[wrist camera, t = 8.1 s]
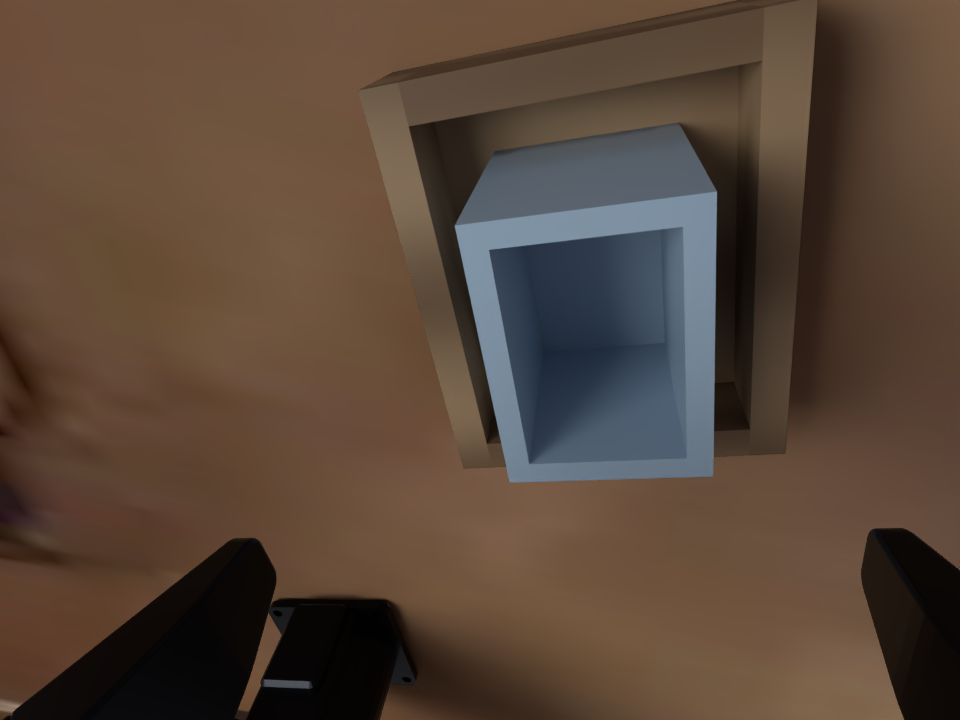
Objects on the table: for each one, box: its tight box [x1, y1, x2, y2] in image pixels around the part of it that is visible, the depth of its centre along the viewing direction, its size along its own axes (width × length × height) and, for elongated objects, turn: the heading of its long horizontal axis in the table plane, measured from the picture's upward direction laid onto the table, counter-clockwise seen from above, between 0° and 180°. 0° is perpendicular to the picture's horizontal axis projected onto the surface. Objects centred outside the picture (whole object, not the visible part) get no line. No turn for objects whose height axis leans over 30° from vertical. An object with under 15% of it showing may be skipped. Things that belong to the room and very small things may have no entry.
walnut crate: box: [359, 0, 818, 469], centre depth 18 cm, size 12×10×3 cm
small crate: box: [455, 122, 717, 483], centre depth 16 cm, size 7×5×6 cm
